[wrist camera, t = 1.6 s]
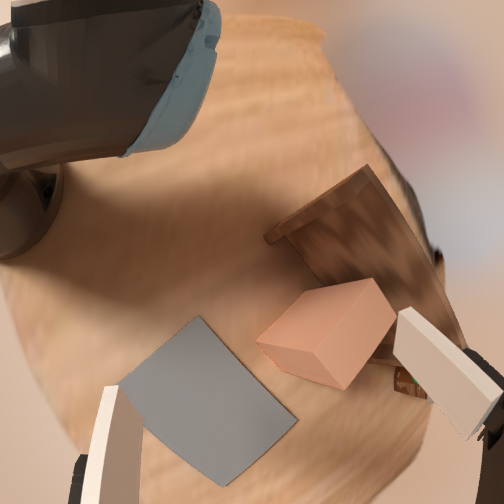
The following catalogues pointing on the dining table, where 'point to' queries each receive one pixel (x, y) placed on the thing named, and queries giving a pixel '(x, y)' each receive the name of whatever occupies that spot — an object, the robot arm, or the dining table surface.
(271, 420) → the slate mat
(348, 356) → the carton
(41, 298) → the dining table surface
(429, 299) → the brown wooden board
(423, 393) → the food container
